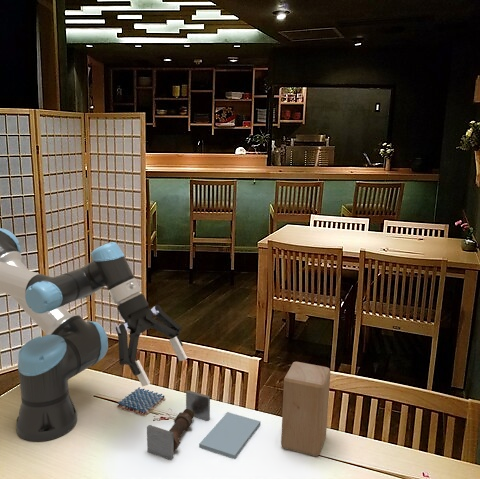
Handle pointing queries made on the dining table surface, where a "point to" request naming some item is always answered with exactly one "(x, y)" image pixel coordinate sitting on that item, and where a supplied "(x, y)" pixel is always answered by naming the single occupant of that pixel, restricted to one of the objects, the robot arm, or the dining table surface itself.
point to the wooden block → (305, 408)
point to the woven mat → (141, 401)
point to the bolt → (181, 425)
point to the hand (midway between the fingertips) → (165, 371)
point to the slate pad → (230, 435)
